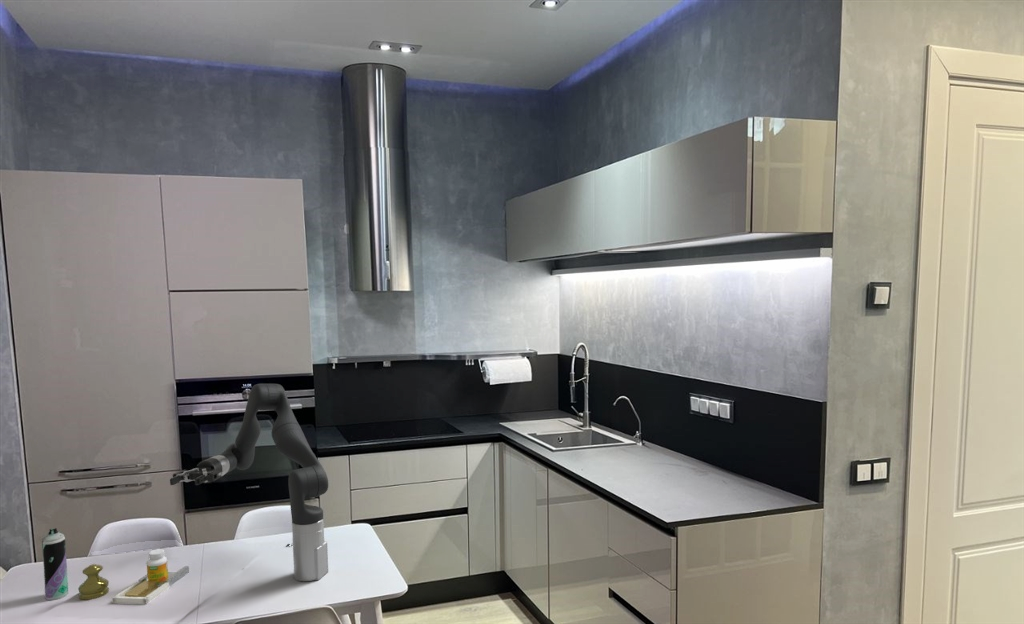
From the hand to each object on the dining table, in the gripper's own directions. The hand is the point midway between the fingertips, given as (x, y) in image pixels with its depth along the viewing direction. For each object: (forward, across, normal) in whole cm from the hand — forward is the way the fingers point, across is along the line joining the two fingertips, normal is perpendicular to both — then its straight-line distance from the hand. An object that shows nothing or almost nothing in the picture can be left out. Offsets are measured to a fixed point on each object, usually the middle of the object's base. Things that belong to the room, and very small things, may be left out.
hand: (183, 482), depth 207 cm
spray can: (+21, -28, +28) cm, 44 cm away
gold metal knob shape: (+22, -15, +28) cm, 38 cm away
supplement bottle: (+15, 0, +26) cm, 30 cm away
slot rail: (+12, 0, +28) cm, 30 cm away
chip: (+19, 0, +27) cm, 33 cm away
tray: (+22, 0, +28) cm, 35 cm away
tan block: (+23, 0, +27) cm, 36 cm away
